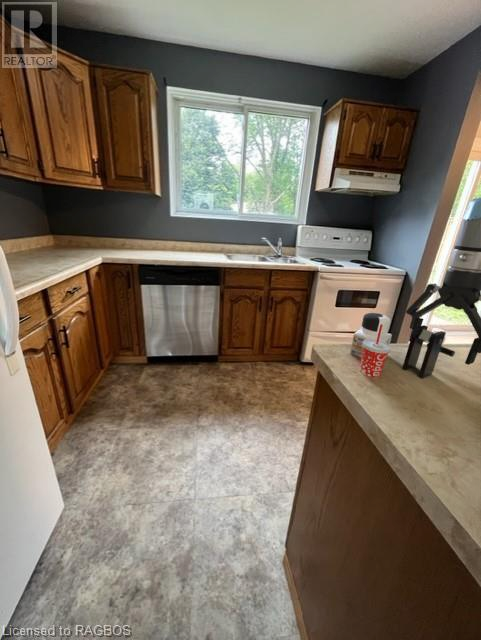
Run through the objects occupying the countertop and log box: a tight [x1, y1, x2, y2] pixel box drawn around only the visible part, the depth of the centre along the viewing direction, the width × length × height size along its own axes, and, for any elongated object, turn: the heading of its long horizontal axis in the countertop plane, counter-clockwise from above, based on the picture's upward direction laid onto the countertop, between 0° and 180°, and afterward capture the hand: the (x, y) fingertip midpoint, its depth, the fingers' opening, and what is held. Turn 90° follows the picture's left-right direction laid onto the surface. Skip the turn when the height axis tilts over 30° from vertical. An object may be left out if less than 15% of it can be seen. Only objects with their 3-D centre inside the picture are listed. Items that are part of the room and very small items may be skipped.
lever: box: [419, 329, 456, 358], centre depth 67 cm, size 12×6×2 cm, turn 118°
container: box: [349, 312, 393, 359], centre depth 74 cm, size 8×8×13 cm
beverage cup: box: [359, 324, 392, 378], centre depth 65 cm, size 6×6×14 cm
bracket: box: [401, 324, 447, 380], centre depth 66 cm, size 12×9×13 cm
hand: (438, 351), depth 71 cm, fingers open, 13 cm apart
